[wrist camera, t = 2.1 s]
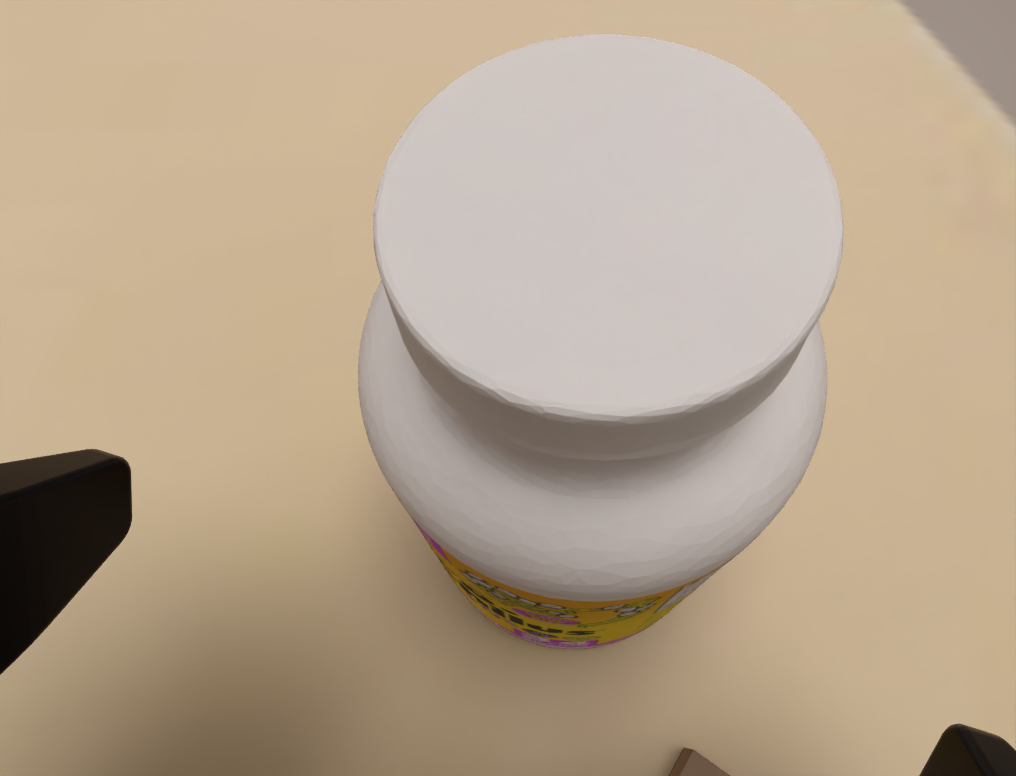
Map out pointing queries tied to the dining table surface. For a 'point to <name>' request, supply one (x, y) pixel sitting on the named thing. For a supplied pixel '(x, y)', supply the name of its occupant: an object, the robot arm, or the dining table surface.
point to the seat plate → (695, 765)
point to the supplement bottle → (598, 327)
